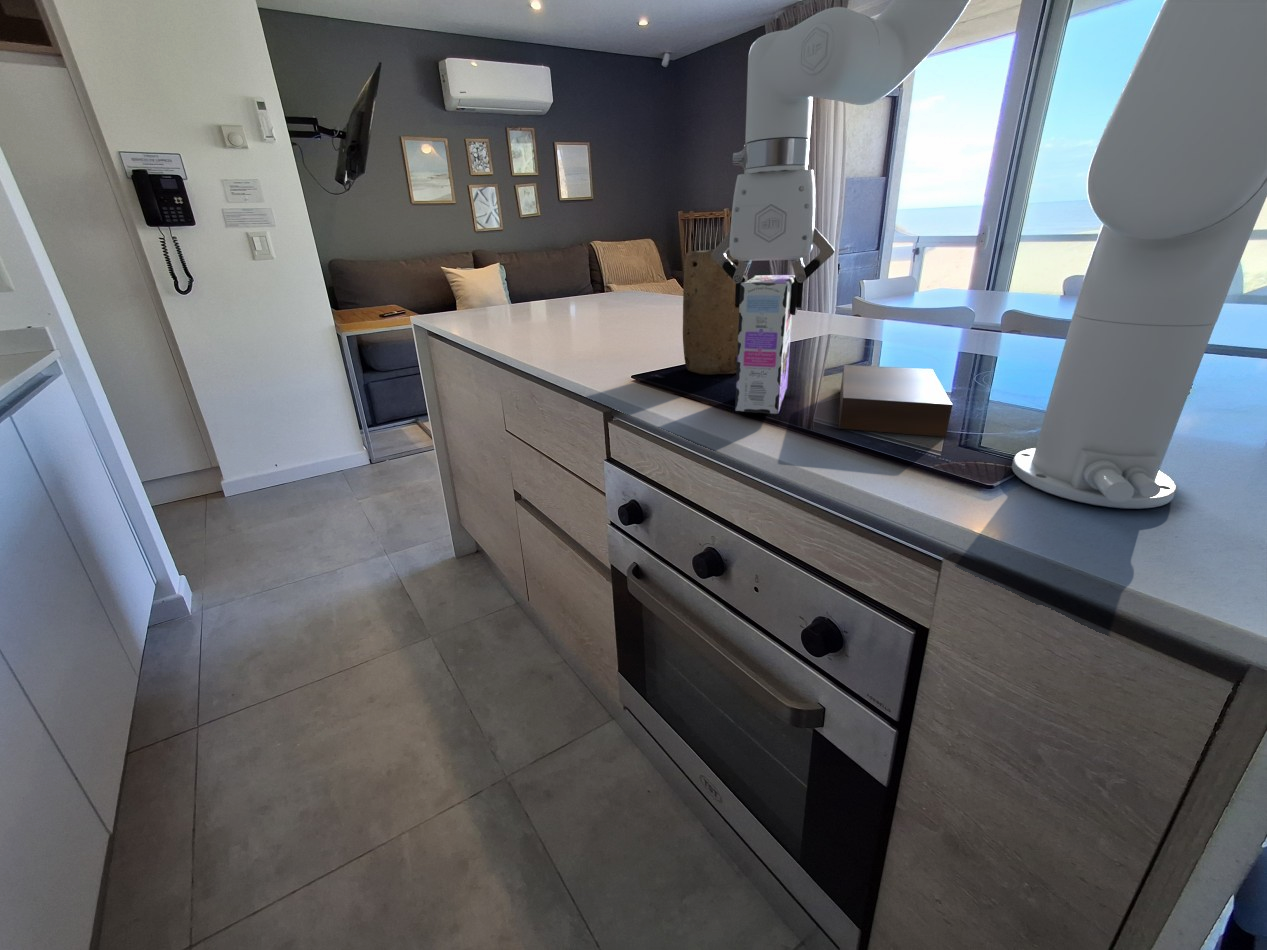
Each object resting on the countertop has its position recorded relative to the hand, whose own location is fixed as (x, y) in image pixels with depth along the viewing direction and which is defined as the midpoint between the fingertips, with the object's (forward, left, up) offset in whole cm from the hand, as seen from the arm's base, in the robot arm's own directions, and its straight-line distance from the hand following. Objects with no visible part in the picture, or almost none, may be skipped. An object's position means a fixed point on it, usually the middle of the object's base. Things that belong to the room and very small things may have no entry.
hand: (768, 312), depth 76 cm
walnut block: (+1, -17, -13) cm, 21 cm away
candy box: (0, 0, -12) cm, 12 cm away
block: (+18, +10, -13) cm, 25 cm away
